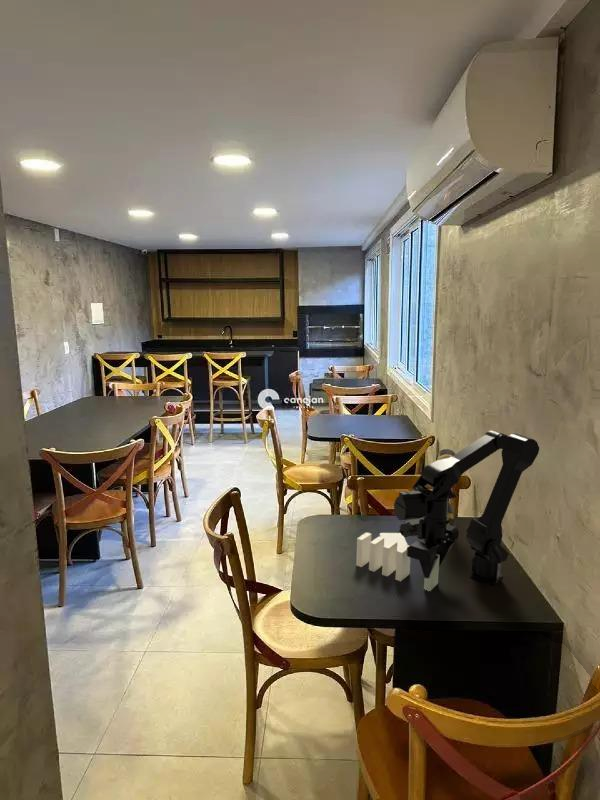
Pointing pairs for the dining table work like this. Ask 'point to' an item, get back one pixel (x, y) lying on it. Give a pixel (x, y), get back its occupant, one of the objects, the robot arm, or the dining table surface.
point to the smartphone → (394, 539)
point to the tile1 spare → (432, 577)
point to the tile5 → (363, 549)
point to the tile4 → (376, 553)
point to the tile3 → (389, 558)
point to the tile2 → (402, 563)
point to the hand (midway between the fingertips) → (431, 572)
